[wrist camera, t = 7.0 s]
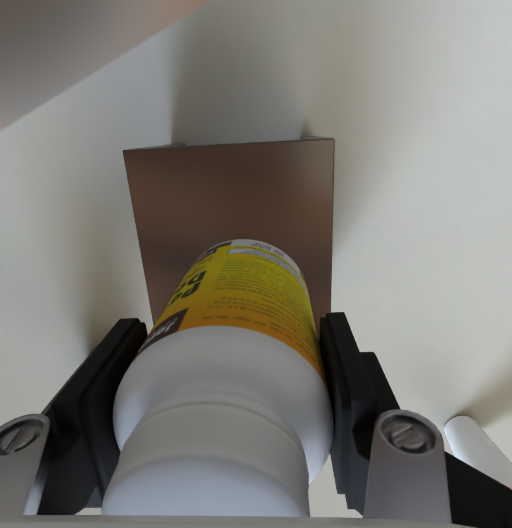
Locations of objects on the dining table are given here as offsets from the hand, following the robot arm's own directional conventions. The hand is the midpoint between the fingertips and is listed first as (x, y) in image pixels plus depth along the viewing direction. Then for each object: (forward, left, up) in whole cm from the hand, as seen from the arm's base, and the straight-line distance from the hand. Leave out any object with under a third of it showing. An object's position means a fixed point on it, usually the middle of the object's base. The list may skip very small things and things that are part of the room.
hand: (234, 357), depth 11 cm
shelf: (+1, -1, -21) cm, 21 cm away
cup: (+25, +21, -22) cm, 39 cm away
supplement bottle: (0, 0, -5) cm, 5 cm away
